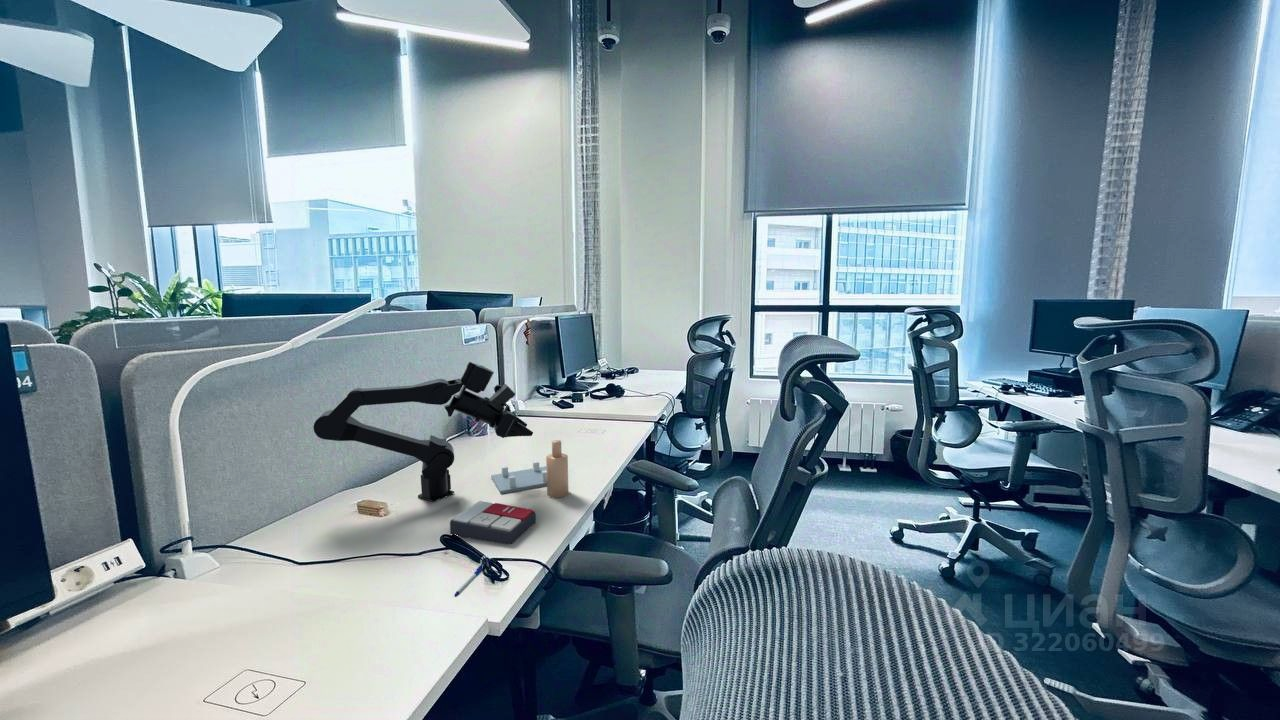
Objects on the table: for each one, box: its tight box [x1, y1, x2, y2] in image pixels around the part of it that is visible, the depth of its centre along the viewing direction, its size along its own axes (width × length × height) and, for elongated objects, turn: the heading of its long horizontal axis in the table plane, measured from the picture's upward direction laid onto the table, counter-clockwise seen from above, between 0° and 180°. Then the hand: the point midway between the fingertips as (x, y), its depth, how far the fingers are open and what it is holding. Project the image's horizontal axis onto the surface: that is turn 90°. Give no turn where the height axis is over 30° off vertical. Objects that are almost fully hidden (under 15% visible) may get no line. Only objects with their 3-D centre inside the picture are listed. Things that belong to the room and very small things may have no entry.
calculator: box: [449, 500, 537, 546], centre depth 110 cm, size 11×4×15 cm
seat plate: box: [490, 460, 547, 495], centre depth 139 cm, size 16×13×3 cm
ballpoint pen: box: [454, 563, 483, 597], centre depth 90 cm, size 10×1×1 cm, turn 170°
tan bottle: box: [545, 439, 570, 499], centre depth 129 cm, size 6×6×14 cm
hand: (529, 429), depth 136 cm, fingers open, 9 cm apart
